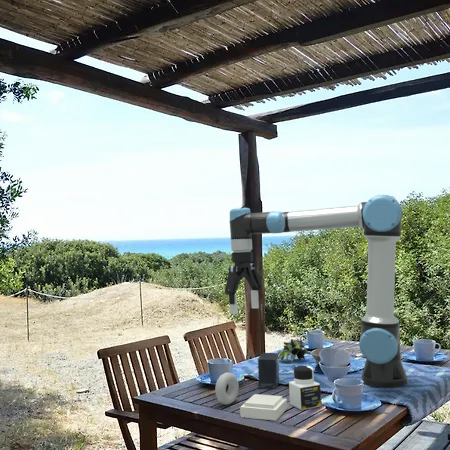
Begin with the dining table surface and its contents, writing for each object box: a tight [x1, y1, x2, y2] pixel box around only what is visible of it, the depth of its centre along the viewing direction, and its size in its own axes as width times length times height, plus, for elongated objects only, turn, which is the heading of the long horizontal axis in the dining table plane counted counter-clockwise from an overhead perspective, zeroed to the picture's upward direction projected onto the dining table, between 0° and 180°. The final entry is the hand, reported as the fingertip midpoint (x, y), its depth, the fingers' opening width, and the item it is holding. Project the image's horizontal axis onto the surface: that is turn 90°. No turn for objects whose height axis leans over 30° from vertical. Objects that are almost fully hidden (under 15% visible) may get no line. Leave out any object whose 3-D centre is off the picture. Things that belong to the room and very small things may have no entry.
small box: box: [257, 352, 280, 390], centre depth 194 cm, size 11×6×10 cm, turn 168°
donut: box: [214, 372, 240, 406], centre depth 174 cm, size 10×4×10 cm, turn 141°
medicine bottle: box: [288, 365, 322, 411], centre depth 169 cm, size 7×7×12 cm
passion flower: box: [277, 338, 312, 365], centre depth 226 cm, size 11×11×12 cm
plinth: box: [239, 393, 288, 421], centre depth 164 cm, size 11×11×4 cm
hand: (245, 311), depth 194 cm, fingers open, 13 cm apart
